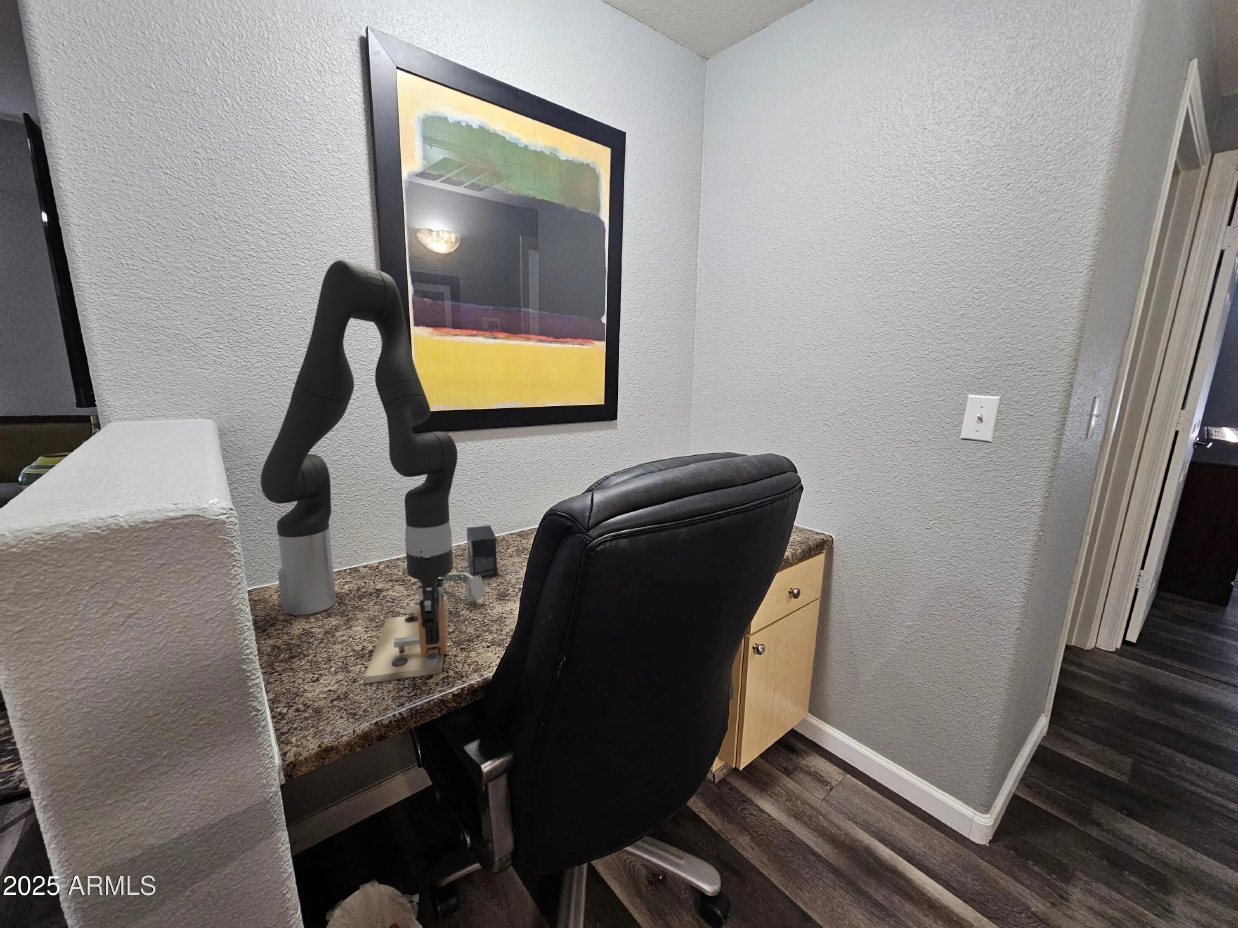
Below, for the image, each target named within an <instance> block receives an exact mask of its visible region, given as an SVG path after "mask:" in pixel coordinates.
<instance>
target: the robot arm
mask: <svg viewBox="0 0 1238 928" xmlns="http://www.w3.org/2000/svg"><path fill="white" fill-rule="evenodd" d="M397 285H398V284H397V283H396V281H395V280H394V278H393V277H392V276H391V275H389V274H387V273H386V272H383V271H382V270H378V269H374V268H373V267H368V266H365V265H363V264H358V263H355V262H351V261H347V260H343V259H338V260H336V261H334V262H333V263H331V264H330V265H329V267H328V269H327V270H326V273H325V274H324V277H323V280H322V284H321V288H320V291H319V292H320V293H319V297H318V301H317V302H318V303H317V306H316V307H317V308H316V311H315V315H314V316H315V317H314V322H313V326H312V331H311V335H310V339H309V342H308V345H307V349H306V351H305V352H306V353H305V354H304V358H303V361H302V364H301V367H300V369H299V372H298V375H297V378H296V381H295V384H294V387H293V390H292V393H291V397H290V401H289V405H288V408H287V411H286V414H285V417H283V418H284V419H283V422H282V424H281V427H280V429H279V432H278V435H277V437H276V438H275V440H274V442H273V445H272V448H271V449H270V451H269V453H268V455H267V458H266V459H265V461H264V464H263V465H262V470H261V475H260V487H261V492H262V493H263V495H264V497H265V498H266V499H267V500H268V501H270V502H272V503H274V504H279V505H280V504H289V503H294V502H295V503H296V504H295V505H294V506H293V508H292V509H290V510H289V511H288V512H287V513H286V514H284V515H283V516H281V517H280V518H279V519H278V521H277V523H276V531H277V537H278V538H277V539H278V540H277V541H278V548H279V556H280V564H281V565H280V566H281V568H280V569H279V570H278V571H277V577H278V585H279V594H280V600H281V601H280V602H281V609H282V615H283V614H284V615H285V614H287V615H291V616H292V615H294V616H306V615H307V616H308V615H313V614H316V613H320V612H322V611H323V612H324V611H325V610H328V609H329V608H331V607H332V606H334V605H335V604H336V603H337V596H336V594H337V593H336V587H335V586H336V585H335V574H334V566H333V565H334V563H333V561H334V560H333V554H332V553H333V552H332V551H333V550H332V543H331V531H330V530H331V529H330V518H331V514H332V494H331V493H332V491H331V489H332V488H331V477H330V470H329V468H328V466H327V463H326V462H325V460H324V459H323V458H322V457H321V456H319V455H317V454H315V453H310V452H311V450H312V449H313V448H314V447H315V446H316V445H317V443H318V442H320V441H321V440H322V439H323V438H324V437H325V436H326V435H327V434H328V433H330V431H331V430H332V429H334V428H335V427H336V425H338V423H340V421H341V420H342V418H343V417H344V416H345V414H346V411H347V409H348V406H349V403H350V401H351V398H352V395H353V394H354V393H353V392H354V389H355V379H354V375H353V371H352V368H351V365H350V363H349V361H348V358H347V355H346V352H345V348H344V340H345V336H346V335H345V333H346V330H347V327H348V324H349V321H350V320H351V319H355V320H359V321H363V322H371V323H374V325H375V326H376V328H377V330H378V333H379V336H380V338H381V343H382V344H381V350H380V354H379V357H378V360H377V362H376V367H375V372H374V382H375V386H376V390H377V394H378V395H379V398H380V403H381V404H382V407H383V410H384V413H385V415H386V421H387V430H388V455H389V461H390V463H391V466H392V467H393V469H394V470H395V471H396V472H397V473H398V474H399V475H401V476H402V477H405V478H414V477H419V476H425V475H426V477H425V480H424V481H423V482H422V483H421V484H420V485H417V486H415V487H413V488H412V489H409V490H407V492H406V494H405V495H404V513H405V515H404V516H405V534H404V538H405V539H404V540H405V541H404V542H405V555H406V572H407V575H408V576H409V577H410V578H411V579H415V580H419V585H418V587H417V588H418V589H417V594H418V595H417V596H418V597H419V602H418V605H419V606H420V612H421V620H422V628H425V637H426V644H427V645H432V644H438V643H439V622H440V619H439V611H440V610H441V608H442V600H443V599H444V585H445V581H444V578H441V577H443V576H445V575H447V574H451V572H452V571H453V569H454V562H453V561H454V557H453V539H452V535H453V534H452V528H451V522H450V506H449V505H450V501H449V499H450V493H451V489H452V484H453V480H454V475H455V472H456V468H457V463H458V447H457V444H456V442H455V441H454V439H453V437H452V436H451V435H450V434H448V432H447V433H446V432H445V431H431V432H428V431H427V432H421V433H420V432H417V433H414V432H413V428H412V427H415V426H418V425H420V424H423V423H424V422H425V421H427V420H428V418H429V417H431V413H432V412H431V407H430V403H429V401H428V399H427V395H426V393H425V391H424V387H423V385H422V383H421V380H420V377H419V375H418V372H417V369H416V366H415V363H414V358H413V354H412V349H411V344H410V339H409V331H408V328H407V327H408V326H407V322H406V317H405V312H404V308H403V302H402V297H401V295H400V294H401V293H400V290H399V287H398V286H397ZM437 603H438V605H436V604H437ZM427 618H428V619H427Z"/></svg>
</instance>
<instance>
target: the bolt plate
mask: <svg viewBox="0 0 1238 928" xmlns="http://www.w3.org/2000/svg"><path fill="white" fill-rule="evenodd" d="M448 624H449V611H447V626H448ZM411 636H419V624H418V614H414V619H413V620H409V615H406V616H396V617H395V616H394V617H387V618H385V621H384V623H383V626H382V629H381V632H380V634H379V636H378V637H379V638H378V639H377V643H376V645H375V647H374V651H373V654H372V656H371V659H370V660H369V664H368V666H367V668H366V672H365V674H364V677H363V678H364V684H370V683H377V682H385V681H394V680H399V679H408V678H414V677H415V678H416V677H423V676H429V675H437V674H442V673H443V663H444V656H445V654H440V649H439V656H438V663H437V667H435V668H428V669H427V661H426V660H427V656H422V657H421V648H420V645H413V646H405V652H404V653H402V654H400V653H399V648H398V647H396V648H394V640H395V638H403V637H411ZM428 649H429V648H428Z"/></svg>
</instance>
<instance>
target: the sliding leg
mask: <svg viewBox="0 0 1238 928" xmlns="http://www.w3.org/2000/svg"><path fill="white" fill-rule="evenodd" d="M446 600H447V599H446V598H443V600H442V608H441V610H440V611H439V619H440V622H439V643H438V644H432V645H427V644H426V637H425V628H422V620H421V612H420V606H419V609H418V613H417V615H418V624H419V636H411V637H403V638H395V640H394V648H396V647H398V648H399V653H400V654H402V653H404V652H405V646H413V645H420V648H421V657H422V656H427V654H428V648H429V647H436V646H440V654H444V655H445V654H447V649H448V635H449V633H448V625H447V612H448V608H446ZM436 605H438V603H437V604H436ZM427 619H428V618H427Z"/></svg>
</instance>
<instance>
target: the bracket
mask: <svg viewBox="0 0 1238 928" xmlns="http://www.w3.org/2000/svg"><path fill="white" fill-rule="evenodd" d="M479 577H480V578H479ZM441 578H444V582H462V583H464V584H465V589H464V595H463V596H464V597H463V598H464V601H465V603H472V602H473V601H477V600H479V599H481V598H484V597H486V596H487V591H486V588H485V586H484V583H483V578H481V576H480V575H479V576H472V574H470V573H468V572H459V573H457V572H456V573H449V574H447V575H445V576H443V577H441Z"/></svg>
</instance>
